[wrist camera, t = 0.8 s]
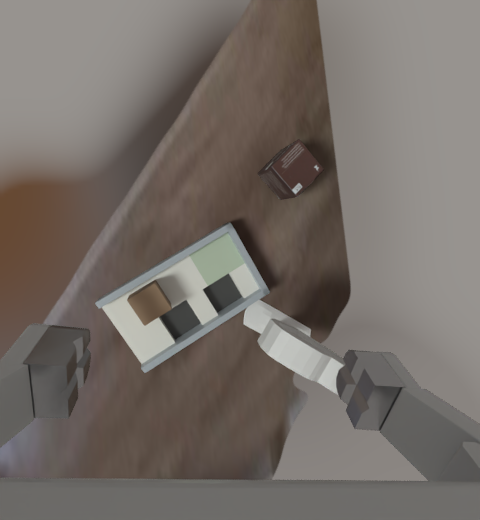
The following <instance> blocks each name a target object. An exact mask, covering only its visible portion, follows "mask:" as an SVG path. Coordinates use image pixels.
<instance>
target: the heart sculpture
mask: <svg viewBox="0 0 480 520" xmlns="http://www.w3.org/2000/svg"><path fill="white" fill-rule="evenodd" d="M244 325H246V326H247V327H249V328H251V329H253V330H255V331H257V332H259V333H260V334H261V336H260V337H259V339H258V343H259V345H260V347H261V348H262V349H263V350H264V351H265V352H266V353H267V354H268V355H269V356H271V357H272V358H273V359H275V360H276V361H278V362H279V363H281V364H283V365H284V366H286V367H287V368H289V369H291V370H293V371H294V372H296V373H298V374H300V375H301V376H303V377H305V378H307V379H309V380H312V381H316V382H318V383H320V384H321V385H323V386H324V387H326V388H328V389H329V390H331V391H332V392H334V393H336V394H338V392H337V388H336V377H337V374H338V371H339V369H340V368H342V367H343V366H344V365H345V363H344V360H343V358H342V357H340V356H339V355H337V354H336V353H334V352H333V351H331V350H330V349H328V348H326V347H325V346H323V345H322V344H320V343H319V342H317V341H315V340H314V339H312V338H311V337H310V334H311V329H310V328H308V327H306V326H305V325H303V324H301V323H299V322H298V321H296V320H294V319H292V318H291V317H289V316H287V315H286V314H284V313H282V312H280V311H279V310H277V309H275V308H273V307H272V306H270V305H268V304H266V303H265V302H263V301H261V300H258V301H256V302H254V303H253V304H251V305H250V306H248V307H247V308H246V311H245V314H244Z"/></svg>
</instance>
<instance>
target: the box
mask: <svg viewBox="0 0 480 520" xmlns="http://www.w3.org/2000/svg"><path fill="white" fill-rule="evenodd" d="M323 170H324V169H323V167H322V166H321V165H320V164H319V163H318V161H317V160H316V159H315V158H314V157H313V155H312V154H311V153H310V152H309V150H308V149H307V148H306V147H305V145H304V144H303V143H302V142H301V141H300V139H298V140H297V141H295V142H294V143H292V144H290V145H289V146H287V147H285V148H284V149H282V150H281V151H280V152H278V153H277V154H276V155H275V156H274V157H273V158H272V159H271V160H270V161H269V162H268V163H267V164H266V165H265V166H264V167H263V168H262V169H261V170H260V171H259V172H258V175H259V177H260V178H261V179H262V180H263V181H264V182H265V183H266V184H267V185H268V186H269V188H270V189H271V190H272V191H273V192H274V193H275V194H276V196H277V197H278V198H279V199H280V200H282V199H288V198H294V197H298V196H299V195H300V194H301V193H302V192H303V191H304V190H305V189H306V188H307V187H308V186H309V185H310V184H311V183H312V182H313V181H314V180H315V179H316V178H317V176H318V175H319V174H321V172H322V171H323Z"/></svg>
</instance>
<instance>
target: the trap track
mask: <svg viewBox="0 0 480 520" xmlns="http://www.w3.org/2000/svg"><path fill="white" fill-rule="evenodd" d="M155 279H156V281H157V282H158V284H159V285H160V287H161V288H162V290H163V292H164V293H165V295H166V296H167V298H168V299H169V301H170V302H171V306H172V309H171V310H170V311H168V312H166V313H165V314H163V315H162V316H160V317H158V318H157V319H155V320H153V321H152V322H150V323H149V324H147V325H145V326H144V325H143V323H142V322H141V320H140V319H139V317H138V316H137V315H136V313H135V312H134V310H133V309H132V307H131V306H130V304H129V303H128V301H127V299H128V297H129V295H130V294H132V293H134V292H135V291H137V290H139V289H140V288H142V287H144V286H145V285H147V284H149V283H150V282H152V281H154V280H155ZM268 293H270V291H269V289H268V288H267V286H266V284H265V282H264V281H263V279H262V277H261V275H260V274H259V272H258V270H257V268H256V266H255V265H254V263H253V261H252V259H251V258H250V256H249V254H248V252H247V251H246V249H245V247H244V245H243V243H242V242H241V240H240V238H239V236H238V235H237V233H236V231H235V229H234V228H233V226H232V224H231V223H226V224H224V225H222V226H220V227H219V228H217V229H215V230H214V231H212V232H210V233H209V234H207V235H205V236H204V237H202V238H200V239H199V240H197V241H195V242H193V243H192V244H190V245H188V246H187V247H185V248H183V249H182V250H180V251H178V252H177V253H175V254H173V255H172V256H170V257H168V258H166V259H165V260H163V261H161V262H160V263H158V264H156V265H155V266H153V267H151V268H150V269H148V270H146V271H145V272H143V273H141V274H139V275H138V276H136V277H134V278H133V279H131V280H129V281H128V282H126V283H124V284H123V285H121V286H119V287H118V288H116V289H114V290H112V291H111V292H109V293H107V294H106V295H104V296H102V297H101V298H99V299H98V300H97V301H96V302H95V304H96V305H97V307H98V308H101V307H102V308H103V310H104V311H105V313H106V314H107V315H108V317H109V318H110V320H111V321H112V323H113V324H114V325H115V327H116V328H117V330H118V331H119V332H120V334H121V335H122V337H123V338H124V340H125V341H126V342H127V344H128V345H129V347H130V348H131V349H132V351H133V352H134V354H135V355H136V357H137V358H138V359H139V361H140V362H141V364H142V366H141V369H142V370H143V372H144V373H146V372H147V371H149V370H151V369H152V368H154V367H155V366H157V365H158V364H160V363H161V362H163V361H165V360H166V359H168V358H169V357H171V356H172V355H174V354H175V353H177V352H178V351H180V350H182V349H183V348H185V347H186V346H188V345H189V344H191V343H192V342H194V341H196V340H197V339H199V338H200V337H202V336H203V335H205V334H206V333H208V332H209V331H211V330H213V329H214V328H216V327H217V326H219V325H220V324H222V323H223V322H225V321H227V320H228V319H230V318H231V317H233V316H234V315H236V314H237V313H239V312H241V311H242V310H244V309H245V308H247V307H248V306H250V305H251V304H253V303H254V302H256V301H258V300H259V299H261V298H262V297H264V296H265V295H267V294H268Z"/></svg>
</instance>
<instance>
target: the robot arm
mask: <svg viewBox="0 0 480 520" xmlns="http://www.w3.org/2000/svg"><path fill="white" fill-rule="evenodd" d="M89 342H90V330H89V329H87V328H77V327H67V326H58V325H46V324H35V323H33V324H31V325H29V326H28V327H27V328H26V330H25V331H24V332H23V333H22V335H21V336H20V337H19V338H18V339H17V341H16V342H15V343H14V344H13V346H12V347H11V348H10V349H9V350H8V352H7V353H6V354H5V355H4V356H3V358H2V359H1V360H0V448H1V447H2V446H3V445H4V444H5V443H7V442H8V441H9V440H10V439H11V438H13V437H14V436H15V435H16V434H18V433H19V432H20V431H21V430H22V429H24V428H25V427H26V426H27V425H28V424H30V423H31V422H32V421H33V420H34V418H69V417H70V415H71V412H72V410H73V408H74V406H75V404H76V401H77V399H78V389H79V388H80V387H82V386H83V385H84V383H85V381H86V378H87V375H88V371H89V367H90V359H91V352H90V351H89V350H88V349H87V346H88V344H89ZM343 360H344V363H345V365H344V366H343V367H342V368H340V369H339V371H338V374H337V377H336V388H337V392H338V395H339V397H340V399H341V400H342V401H343V402H345V403H346V404H347V405H348V406H347V409H346V412H347V414H348V416H349V418H350V420H351V422H352V424H353V426H354V428H355V429H362V430H377V431H380V433H381V434H382V435H383V436H384V437H386V439H387V440H388V441H389V442H390V443H391V444H392V445H393V446H394V447H395V448H396V449H397V450H398V451H399V452H400V453H401V454H402V455H403V456H404V457H405V458H406V459H407V460H408V461H409V462H410V463H411V464H412V465H413V466H415V468H417V470H418V471H420V473H421V474H422V475H424V476H425V477H426V478H427V480H428V481H346V480H345V481H343V480H341V481H340V480H335V481H334V480H218V479H98V478H0V520H480V424H479V423H477V422H476V421H474V420H473V419H471V418H470V417H468V416H467V415H465V414H464V413H462V412H460V411H459V410H457V409H456V408H454V407H453V406H451V405H450V404H448V403H447V402H445V401H443V400H442V399H440V398H439V397H437V396H436V395H434V394H433V393H431V392H429V391H428V390H426V389H421V387H420V386H419V385H418V384H417V382H416V381H415V380H414V379H413V377H412V376H411V375H410V373H409V372H408V371H407V370H406V368H405V367H404V366H403V365H402V363H401V362H400V361H399V359H398V358H397V357H396V356H395V355H394V354H393V353H391V352H369V351H356V350H348V351H347V352H346V354H345V356H344V358H343Z"/></svg>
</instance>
